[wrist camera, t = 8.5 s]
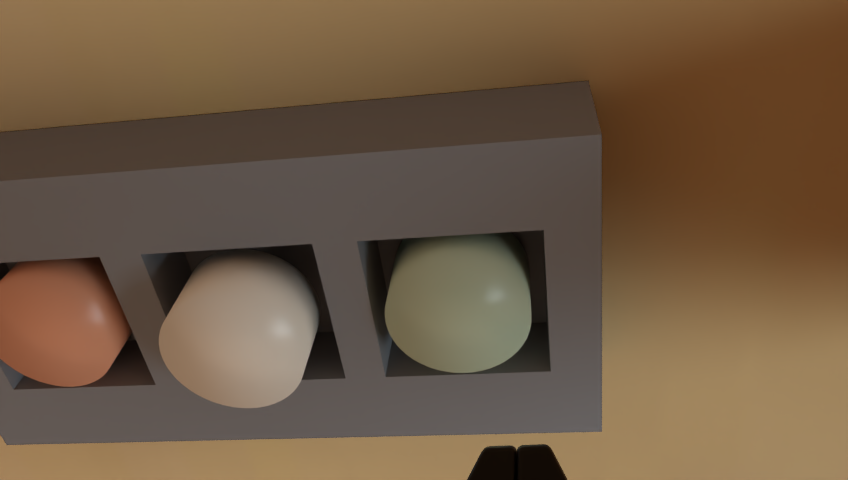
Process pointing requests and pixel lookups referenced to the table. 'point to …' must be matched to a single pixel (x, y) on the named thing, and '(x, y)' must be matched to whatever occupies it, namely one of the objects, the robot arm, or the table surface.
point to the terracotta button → (61, 321)
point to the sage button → (460, 300)
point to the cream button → (241, 329)
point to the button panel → (319, 256)
